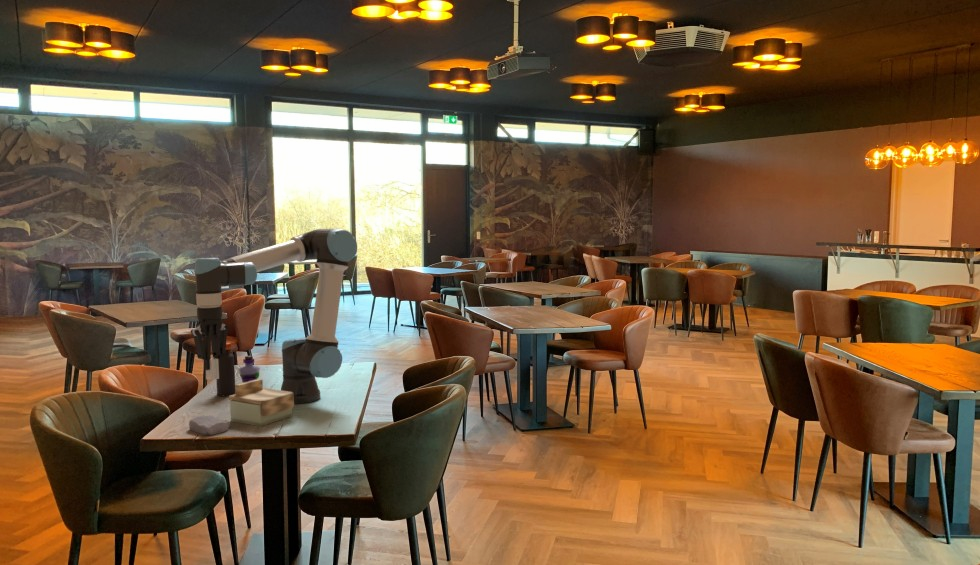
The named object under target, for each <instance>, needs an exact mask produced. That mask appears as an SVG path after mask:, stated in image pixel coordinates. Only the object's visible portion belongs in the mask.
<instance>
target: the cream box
mask: <svg viewBox="0 0 980 565" xmlns="http://www.w3.org/2000/svg"><path fill="white" fill-rule="evenodd" d="M229 405H230V406H229V407H230V421H231V422H234V423H235V422H236V423H241V424H244V425H250V426H256V427H263V426H266V425H269V424H272V423H275V422H278V421H282V420H284V419H287V418H291V417H292V416H293V413H292V412H293V410H292V409H293V408H290V409H286V410H283V411H280V412H277V413H274V414H270V415H267V416H262V404H261V405H259V404H253V403H247V402H241V401H235V400H229Z"/></svg>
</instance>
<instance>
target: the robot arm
mask: <svg viewBox="0 0 980 565" xmlns="http://www.w3.org/2000/svg"><path fill="white" fill-rule="evenodd" d="M357 253H358V243H357V240H356V238H355V236H354V235H353V233H352V232H350V231H349V230H346V229H343V228H319V229H318V228H317V229H313V230H310V231H308V232H304V233H302V234H299V235H295V236H292V237H291V238H290V239H289V240H288V241H285V242H281V243H277V244H273V245H270V246H267V247H264V248H259V249H257V250H253V251H250V252H249V251H248V252H246V253H241V254H239V255H236V256H232V257H228V258H224V259H221V260H220V258H219V257H200V258H199V257H198V258H197V259H196V260H195V261H194V263H195V264H194V277H195V278H194V279H195V293H196V294H195V295H196V296H195V298H196V306H197V308H196V318H197V320H198V323H197V326H196V328H194V329H193V328H192V329H190V333H191V336H192V338H193V342H194V345H195V346H194V347H195V351H196V352H195V353H196V356H197V358H198V359H199V360H203V369H204V371H205V380H207V381H214V380H216V379H219V368H220V358H222V355H225V350H226V343H227V339H228V338H227V337H228V331H229V329H230V325H229V324H225V323H223V320H222V318H223V307H222V304H223V298H222V296H223V295H222V287H234V286H247V285H253V284H255V282H256V280H257V278H258V273H259V272H262V271H266V270H269V269H273V268H276V267H279V266H282V265H285V264H289V263H292V262H296V261H297V262H299V263H302V262H304V261H310V260H311V261H312V260H315V261H316V265H317V266H318V268H319V272H318V281H317V286H316V294H315V301H314V302H315V303H314V308H313V309H314V310H313V316H312V323H311V330H310V334H309V335H308V336H307V337H301V338H292V339H286V340H284V341H282V345H281V352H282V353H281V354H282V355H281V356H282V382H281V383H282V384H281V386H280V387H281V388H280V390H282V391H289V392H292V393H294V405H295V404H306V403H312V402H315V401H318V400H320V399H321V390H320V388H319V386H318V383H317V379H316V378H322V379H326V378H331V377H332V376H334V375H335V374H336V373H338V371H339V370H340V368H341V367H342V362H343V354H342V353H341V350H340V349H339V340H338V339H337V338H336V331H337V324H338V316H339V308H340V302H341V293H342V286H343V279H344V272H345V271H346V270H347V269H348V268H349V267H350V266H349V265H350V261H352V260H353V259H354V258H355V256H356V254H357ZM211 354H212V356H211Z"/></svg>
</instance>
